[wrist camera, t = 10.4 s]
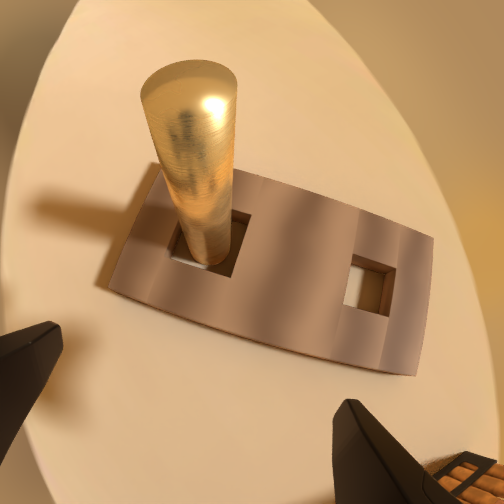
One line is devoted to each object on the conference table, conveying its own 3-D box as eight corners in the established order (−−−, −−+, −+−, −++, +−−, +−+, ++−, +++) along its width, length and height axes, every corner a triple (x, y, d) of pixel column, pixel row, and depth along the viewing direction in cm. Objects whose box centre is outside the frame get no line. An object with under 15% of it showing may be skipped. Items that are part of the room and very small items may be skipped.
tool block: (421, 245, 25) (433, 238, 23) (402, 375, 21) (415, 376, 19) (173, 165, 25) (169, 152, 23) (117, 292, 21) (107, 287, 19)
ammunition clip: (466, 450, 18) (551, 467, 7) (466, 462, 18) (548, 483, 6) (380, 506, 17) (456, 564, 5) (382, 518, 16) (454, 575, 5)
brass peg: (217, 272, 22) (201, 132, 8) (181, 252, 23) (121, 102, 8) (237, 238, 23) (254, 75, 9) (203, 219, 24) (179, 52, 9)
